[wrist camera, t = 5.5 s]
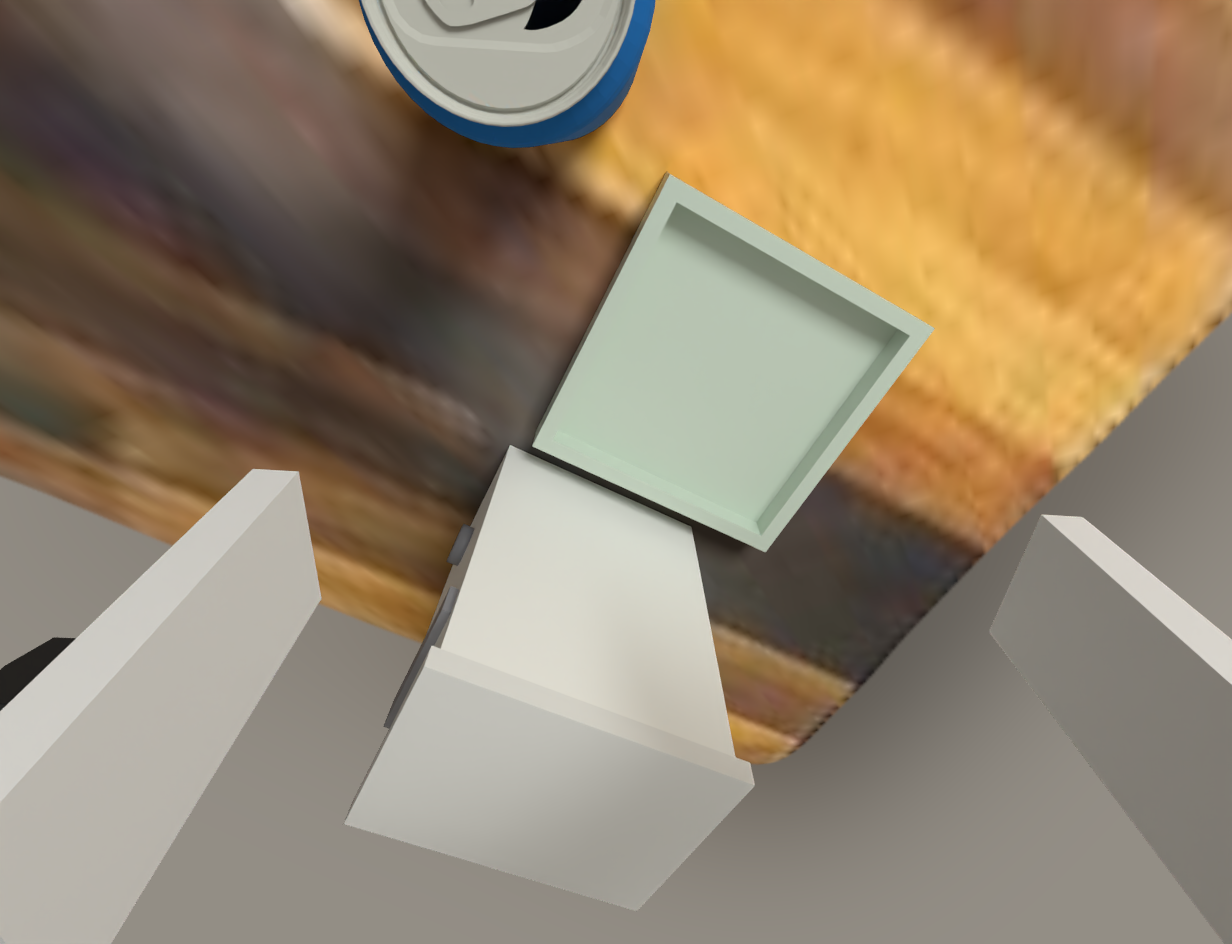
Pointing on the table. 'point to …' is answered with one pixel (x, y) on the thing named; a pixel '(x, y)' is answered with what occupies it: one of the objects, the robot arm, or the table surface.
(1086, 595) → the robot arm
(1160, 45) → the table surface
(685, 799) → the block
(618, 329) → the tray
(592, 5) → the beverage can
